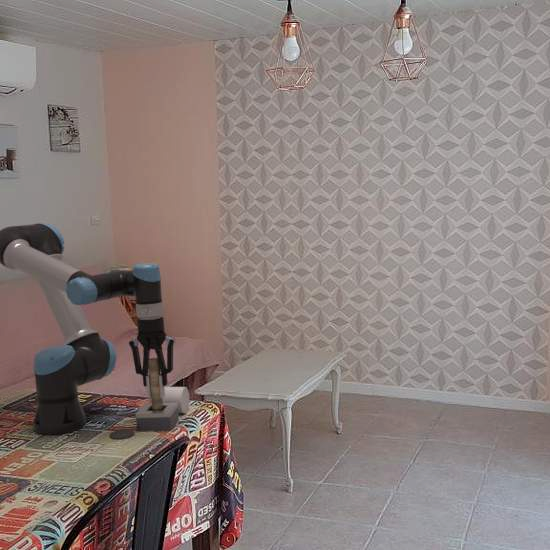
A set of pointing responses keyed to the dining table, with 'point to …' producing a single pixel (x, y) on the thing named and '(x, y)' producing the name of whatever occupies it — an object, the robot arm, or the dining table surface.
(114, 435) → the coaster
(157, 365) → the brown upright bar
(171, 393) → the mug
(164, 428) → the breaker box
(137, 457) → the dining table surface
